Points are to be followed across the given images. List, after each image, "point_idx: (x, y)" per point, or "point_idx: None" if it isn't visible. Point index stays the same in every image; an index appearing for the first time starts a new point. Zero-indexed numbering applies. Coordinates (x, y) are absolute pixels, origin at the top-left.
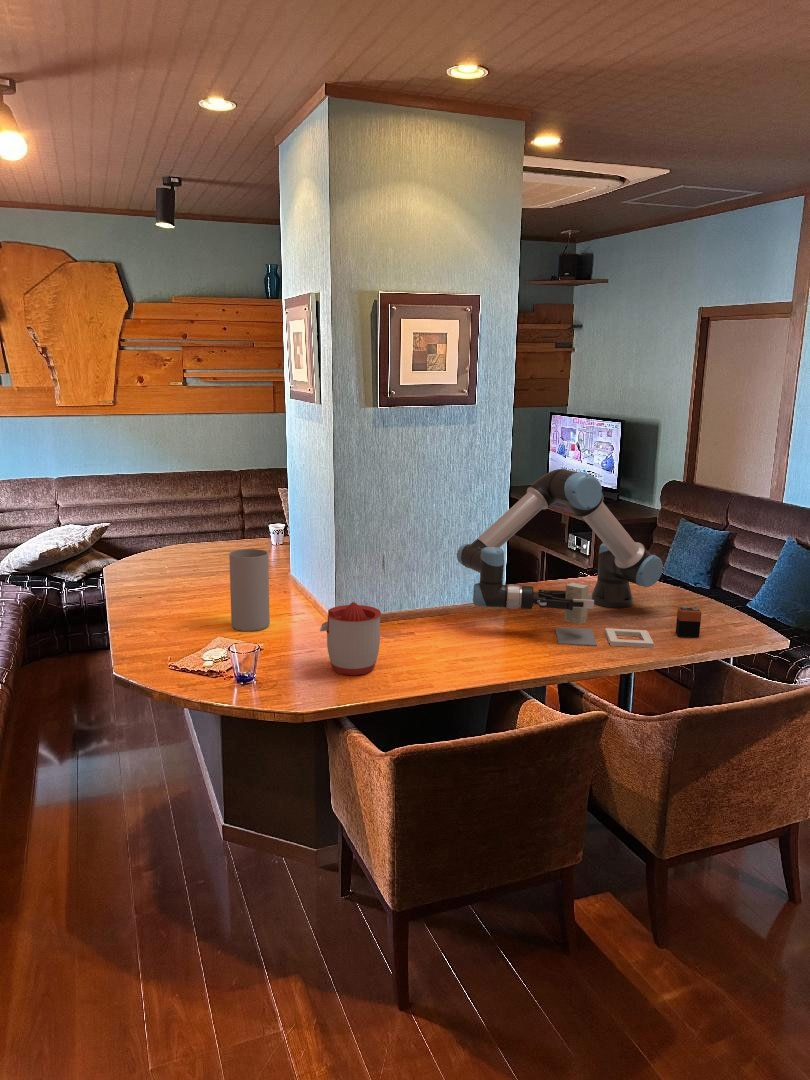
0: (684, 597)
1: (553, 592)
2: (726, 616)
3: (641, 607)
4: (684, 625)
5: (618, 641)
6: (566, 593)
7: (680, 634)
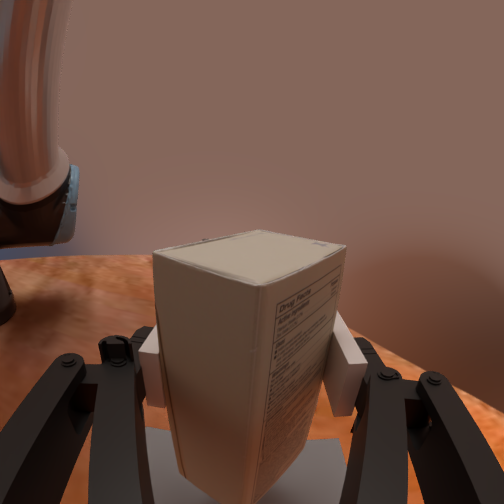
0: (31, 263)
1: (33, 463)
2: (120, 260)
3: (30, 298)
4: None
5: None
6: (263, 378)
7: None
